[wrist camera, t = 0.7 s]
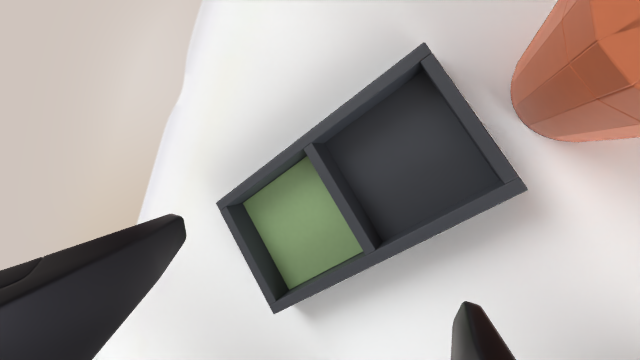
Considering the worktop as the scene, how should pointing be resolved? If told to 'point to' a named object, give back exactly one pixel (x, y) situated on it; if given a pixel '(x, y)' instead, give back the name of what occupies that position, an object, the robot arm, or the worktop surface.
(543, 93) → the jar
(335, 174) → the divided grey tray
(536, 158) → the worktop surface
